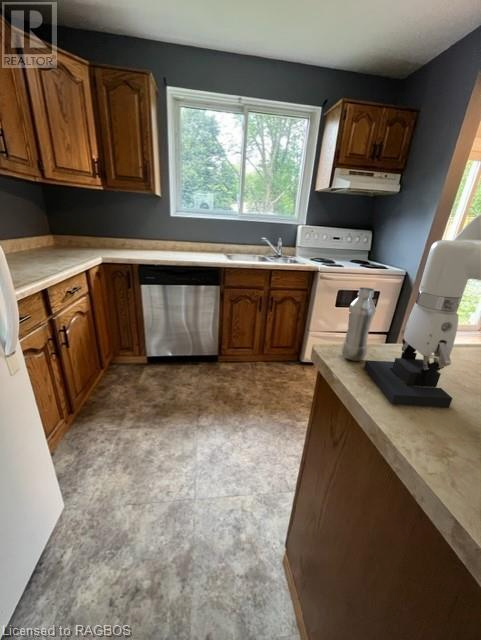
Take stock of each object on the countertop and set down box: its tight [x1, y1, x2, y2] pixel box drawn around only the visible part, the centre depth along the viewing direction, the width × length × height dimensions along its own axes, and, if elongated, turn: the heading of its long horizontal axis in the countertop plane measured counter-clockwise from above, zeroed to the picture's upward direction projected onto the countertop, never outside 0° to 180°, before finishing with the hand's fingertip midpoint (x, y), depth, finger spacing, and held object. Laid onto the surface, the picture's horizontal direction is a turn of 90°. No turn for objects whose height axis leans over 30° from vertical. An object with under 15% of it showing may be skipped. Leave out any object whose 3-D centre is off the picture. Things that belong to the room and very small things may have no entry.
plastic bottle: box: [341, 287, 377, 362], centre depth 73 cm, size 6×7×20 cm
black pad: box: [392, 357, 442, 388], centre depth 63 cm, size 7×7×4 cm
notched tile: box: [363, 359, 453, 409], centre depth 64 cm, size 12×15×2 cm
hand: (414, 374), depth 63 cm, fingers closed on black pad, 6 cm apart
